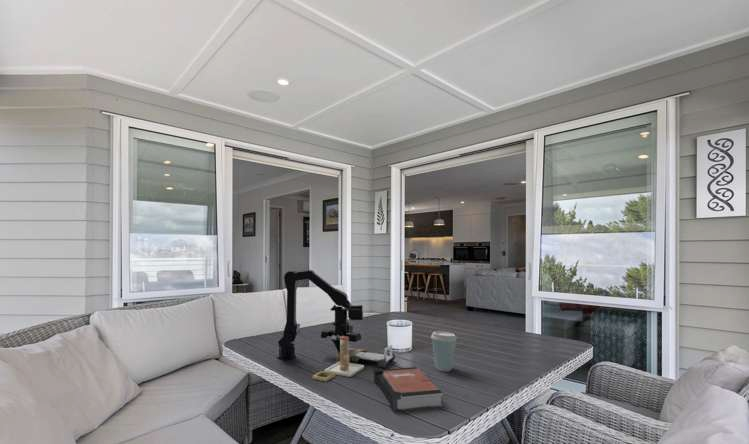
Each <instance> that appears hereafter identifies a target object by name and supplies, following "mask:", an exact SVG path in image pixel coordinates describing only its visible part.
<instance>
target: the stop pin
mask: <svg viewBox="0 0 749 444" xmlns="http://www.w3.org/2000/svg"><path fill="white" fill-rule="evenodd" d="M349 348H350V341H349V337H347V336H343V335H342V337H340V370H341V371H347V370H349Z"/></svg>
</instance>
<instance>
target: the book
mask: <svg viewBox="0 0 749 444" xmlns="http://www.w3.org/2000/svg"><path fill="white" fill-rule="evenodd" d="M373 382H374V384H375V385H377V384H378V385H377V386H378V387H379V389H380V391H381V393H382V394H383V395H384V397H385V398H386V400H387V402H388V403H389V408H390V409H391V411H392V412H396V411H397V412H398V411H400V412H401V411H409V409H410V410H417V409H419V410H420V409H426V408H427V409H428V408H436V407H444V404H442V396H443V395H444V393H443V391H441V390H440V389H439V387H437V386H436V385H435V383H433V382H432V381H431V377H429V376H427V375H425V374H424V373H423V372H422V371H420V370H419V368H418V367H416V366H414V367H413V366H412V367H400V368H388V369H384V368H383V369H380V368H374V369H373Z"/></svg>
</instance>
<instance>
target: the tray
mask: <svg viewBox="0 0 749 444" xmlns="http://www.w3.org/2000/svg"><path fill="white" fill-rule="evenodd" d="M363 369H365V365H364V364H361V363H360V364H358V363H357V364H353V363H349V370H347V371H341V370H340V361H339V362H335V363H334V364H333V365H330V366H329V367H327V368H325V369H324V370H323V371H324V372H330V373H335V376H341V377H347V378H351V377H353V376H354V375H356V374H358V373H359V372H361V371H362V370H363Z"/></svg>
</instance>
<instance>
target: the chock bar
mask: <svg viewBox="0 0 749 444" xmlns="http://www.w3.org/2000/svg"><path fill="white" fill-rule="evenodd" d="M362 350H363V349H359V348H351V347H349V363H350V357H352V356H353V355H355V354H357V353H359V352H361V351H362ZM335 357H336V358H335V363H338V362H339V361H340V353H337V354H336V355H335Z"/></svg>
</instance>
